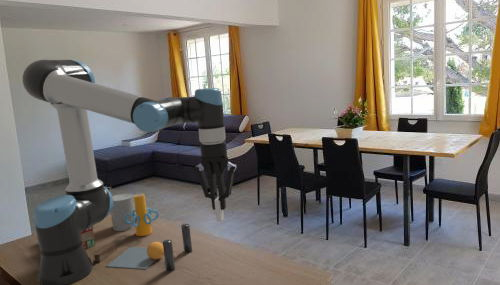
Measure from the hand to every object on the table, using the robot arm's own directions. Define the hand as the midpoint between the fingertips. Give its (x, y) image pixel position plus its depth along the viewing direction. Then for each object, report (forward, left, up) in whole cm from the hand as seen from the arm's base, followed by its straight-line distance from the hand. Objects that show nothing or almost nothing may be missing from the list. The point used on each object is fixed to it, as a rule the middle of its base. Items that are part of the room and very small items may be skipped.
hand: (220, 219), depth 119 cm
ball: (-23, 0, -11) cm, 26 cm away
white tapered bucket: (-51, +25, -14) cm, 58 cm away
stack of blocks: (-62, +10, -14) cm, 65 cm away
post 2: (-15, +6, -14) cm, 21 cm away
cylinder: (-39, +19, -14) cm, 46 cm away
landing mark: (-30, 0, -14) cm, 33 cm away
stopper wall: (-42, 0, -14) cm, 44 cm away
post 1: (-15, -6, -14) cm, 21 cm away
